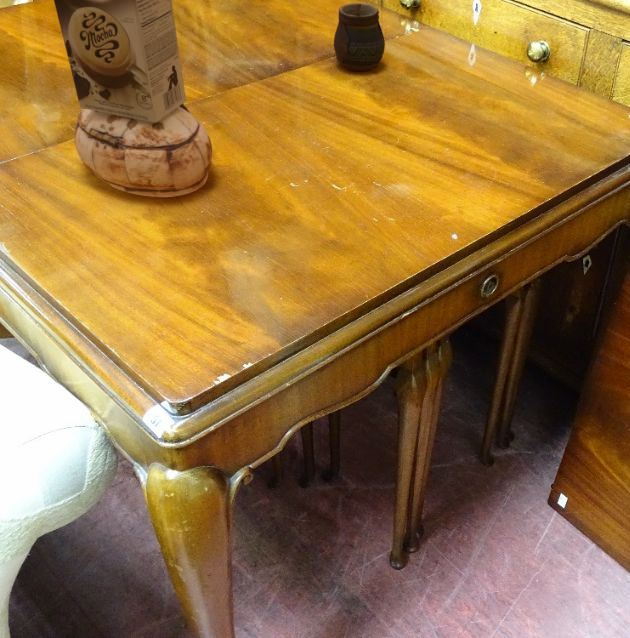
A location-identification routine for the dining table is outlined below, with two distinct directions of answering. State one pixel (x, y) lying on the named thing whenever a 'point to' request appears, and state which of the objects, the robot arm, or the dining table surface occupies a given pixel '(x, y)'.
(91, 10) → the coffee box
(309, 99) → the dining table surface
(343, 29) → the mate gourd
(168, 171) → the trinket box
